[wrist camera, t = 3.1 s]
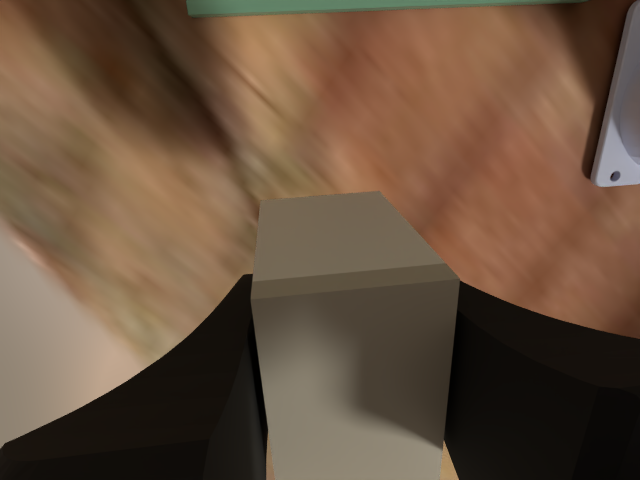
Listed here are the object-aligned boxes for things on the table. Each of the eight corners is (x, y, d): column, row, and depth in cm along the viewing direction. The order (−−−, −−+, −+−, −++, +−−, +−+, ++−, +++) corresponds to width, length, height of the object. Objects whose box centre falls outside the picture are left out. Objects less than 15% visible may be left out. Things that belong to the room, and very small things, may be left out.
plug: (379, 190, 12) (459, 278, 7) (377, 331, 14) (439, 480, 9) (260, 200, 11) (250, 299, 6) (276, 341, 13) (278, 504, 8)
